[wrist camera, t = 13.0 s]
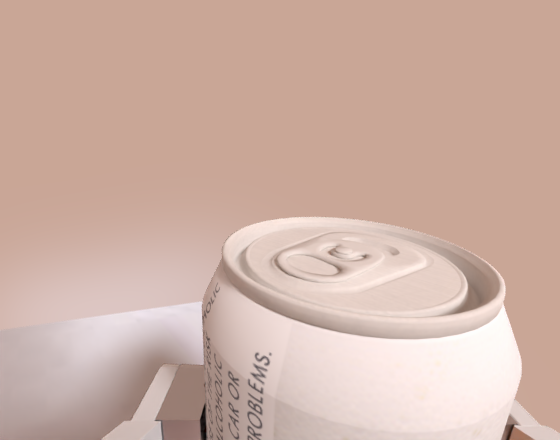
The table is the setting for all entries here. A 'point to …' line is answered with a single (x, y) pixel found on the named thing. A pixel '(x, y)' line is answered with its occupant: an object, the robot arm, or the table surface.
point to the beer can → (355, 336)
